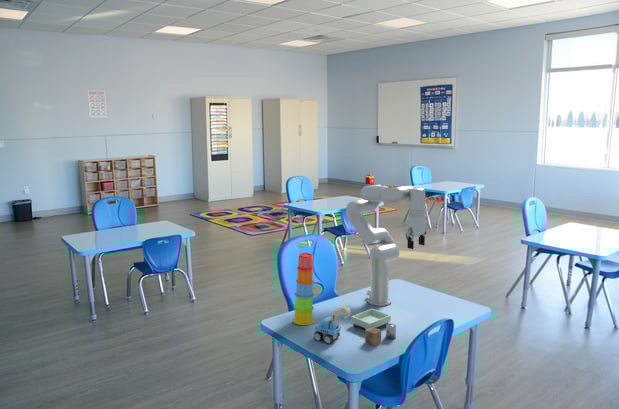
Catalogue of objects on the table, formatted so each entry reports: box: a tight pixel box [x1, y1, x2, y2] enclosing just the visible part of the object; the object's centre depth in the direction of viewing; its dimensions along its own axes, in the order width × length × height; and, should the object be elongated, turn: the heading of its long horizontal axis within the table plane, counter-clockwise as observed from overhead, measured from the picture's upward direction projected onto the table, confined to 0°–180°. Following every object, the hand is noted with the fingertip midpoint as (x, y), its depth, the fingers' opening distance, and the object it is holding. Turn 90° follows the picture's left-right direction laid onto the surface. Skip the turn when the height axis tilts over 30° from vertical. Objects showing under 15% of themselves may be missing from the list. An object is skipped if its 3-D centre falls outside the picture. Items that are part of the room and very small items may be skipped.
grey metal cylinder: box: [385, 322, 397, 341], centre depth 229 cm, size 4×4×6 cm
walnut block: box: [364, 327, 382, 347], centre depth 224 cm, size 5×5×6 cm
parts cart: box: [350, 308, 392, 330], centre depth 242 cm, size 12×15×5 cm
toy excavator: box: [313, 305, 351, 345], centre depth 226 cm, size 9×17×17 cm, turn 58°
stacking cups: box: [292, 252, 315, 326], centre depth 246 cm, size 10×10×35 cm
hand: (416, 246), depth 249 cm, fingers open, 9 cm apart
